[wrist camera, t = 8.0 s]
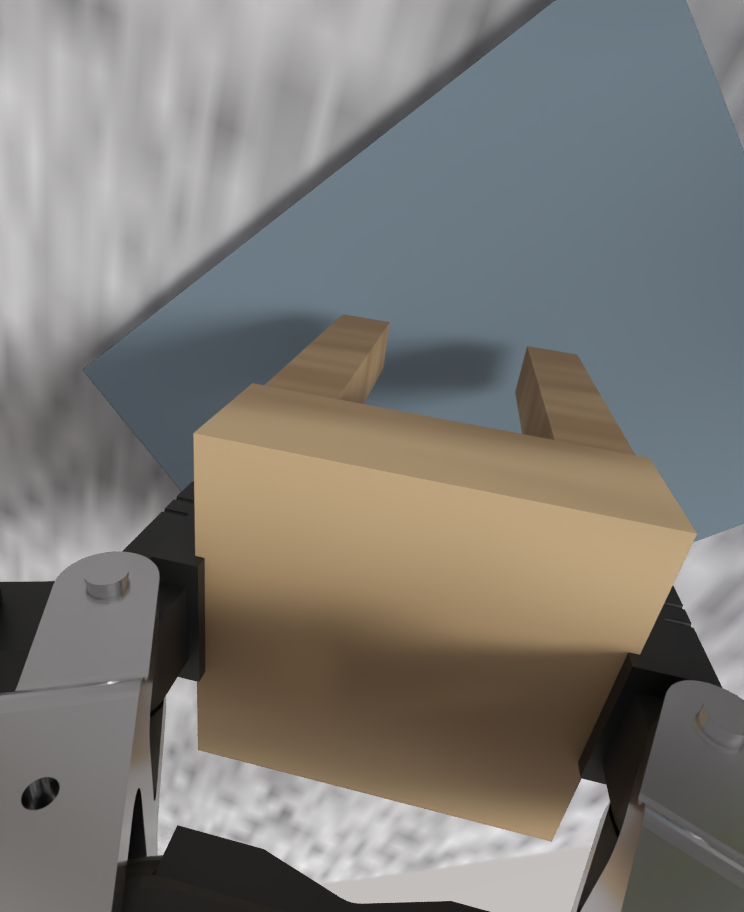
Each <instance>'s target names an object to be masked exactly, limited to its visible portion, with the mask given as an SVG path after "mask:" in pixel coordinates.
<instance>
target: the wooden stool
mask: <svg viewBox="0 0 744 912" xmlns="http://www.w3.org/2000/svg"><path fill="white" fill-rule="evenodd" d="M389 326H390V322H386V321H380V320H374V319H368V318H362V317H357V316H351V315H345V314H343V315H342V316H341V317H340V318H338V319H337V320H336V321H335V322H334V323H333V324H332V325H331V326H330V327H328V328H327V329H326V330H325V331H324V332H323V333H322V334H321V335H320V336H318V337H317V338H316V339H315V340H314V341H313V342H312V343H311V344H310V345H308V346H307V347H306V348H305V349H304V350H303V351H302V352H301V353H300V354H298V355H297V356H296V357H295V358H294V359H293V360H292V361H291V362H290V363H288V364H287V365H286V366H285V367H284V368H283V369H282V370H281V371H280V372H278V373H277V374H276V375H275V376H274V377H273V378H272V379H271V380H270V381H268V382H267V383H266V384H265V385H259V384H254V383H252V384H251V385H250V386H249V387H247V388H246V389H245V390H244V391H243V392H242V393H240V394H239V395H238V396H237V397H236V398H234V399H233V400H232V401H231V402H230V403H229V404H227V405H226V406H225V407H224V408H223V409H221V410H220V411H219V412H218V413H217V414H216V415H214V416H213V417H212V418H211V419H210V420H208V421H207V422H206V423H205V424H204V425H203V426H201V427H200V428H199V429H198V430H197V431H195V432H194V433H193V436H194V504H195V556H199V557H203V558H205V673H204V675H203V677H202V678H201V680H200V682H198V681H197V708H198V750H200V751H204V752H208V753H212V754H216V755H220V756H223V757H227V758H231V759H235V760H239V761H243V762H247V763H250V764H254V765H258V766H262V767H266V768H270V769H274V770H277V771H281V772H285V773H289V774H293V775H297V776H301V777H304V778H308V779H312V780H316V781H320V782H324V783H328V784H331V785H335V786H339V787H343V788H347V789H351V790H355V791H358V792H362V793H366V794H370V795H374V796H378V797H382V798H386V799H389V800H393V801H397V802H401V803H405V804H409V805H413V806H416V807H420V808H424V809H428V810H432V811H436V812H440V813H443V814H447V815H451V816H455V817H459V818H463V819H467V820H470V821H474V822H478V823H482V824H486V825H490V826H494V827H497V828H501V829H505V830H509V831H513V832H517V833H521V834H524V835H528V836H532V837H536V838H540V839H544V840H548V841H551V842H552V840H553V837H554V835H555V833H556V831H557V829H558V827H559V825H560V823H561V821H562V818H563V816H564V814H565V812H566V810H567V808H568V806H569V804H570V801H571V799H572V797H573V795H574V793H575V791H576V789H577V787H578V785H579V782H580V780H581V778H580V773H579V766H578V761H579V759H580V757H581V754H582V752H583V750H584V748H585V746H586V743H587V741H588V739H589V737H590V735H591V733H592V730H593V728H594V726H595V724H596V722H597V719H598V717H599V715H600V713H601V711H602V709H603V706H604V704H605V702H606V700H607V698H608V695H609V693H610V691H611V689H612V687H613V684H614V682H615V680H616V678H617V676H618V674H619V671H620V669H621V667H622V665H623V663H624V660H625V658H626V656H627V654H628V652H630V653H635V654H639V655H640V653H641V651H642V649H643V647H644V645H645V643H646V641H647V639H648V637H649V634H650V632H651V630H652V628H653V626H654V624H655V622H656V620H657V617H658V615H659V613H660V611H661V609H662V607H663V605H664V603H665V601H666V598H667V596H668V594H669V592H670V590H671V588H672V586H673V584H674V582H675V579H676V577H677V575H678V573H679V571H680V569H681V567H682V565H683V562H684V560H685V558H686V556H687V554H688V552H689V550H690V548H691V546H692V543H693V541H694V539H695V537H696V535H697V533H696V531H695V530H694V528H693V527H692V525H691V523H690V522H689V520H688V519H687V517H686V515H685V514H684V512H683V511H682V509H681V507H680V506H679V504H678V503H677V501H676V499H675V498H674V496H673V495H672V493H671V491H670V490H669V488H668V487H667V485H666V483H665V482H664V480H663V479H662V477H661V475H660V474H659V472H658V471H657V469H656V467H655V466H654V464H653V463H652V461H651V460H650V458H647V457H642V456H636V455H635V453H634V451H633V450H632V448H631V446H630V445H629V443H628V441H627V439H626V438H625V436H624V434H623V433H622V431H621V429H620V427H619V426H618V424H617V422H616V420H615V419H614V417H613V415H612V414H611V412H610V410H609V408H608V407H607V405H606V403H605V402H604V400H603V398H602V396H601V395H600V393H599V391H598V389H597V388H596V386H595V384H594V383H593V381H592V379H591V377H590V376H589V374H588V372H587V371H586V369H585V367H584V365H583V364H582V362H581V360H580V359H579V357H578V355H577V354H571V353H565V352H559V351H554V350H548V349H542V348H536V347H531V346H527V348H526V352H525V356H524V360H523V364H522V368H521V371H520V375H519V379H518V383H517V387H516V391H515V395H516V401H517V407H518V413H519V419H520V425H521V431H522V434H519V433H514V432H509V431H504V430H498V429H493V428H488V427H482V426H477V425H472V424H466V423H461V422H456V421H450V420H445V419H440V418H435V417H429V416H424V415H419V414H413V413H408V412H403V411H397V410H392V409H387V408H381V407H376V406H371V405H366V404H364V403H365V401H366V399H367V397H368V395H369V394H370V392H371V390H372V388H373V386H374V384H375V383H376V381H377V379H378V377H379V375H380V374H381V372H382V370H383V367H384V360H385V354H386V347H387V340H388V333H389Z"/></svg>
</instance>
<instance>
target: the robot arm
mask: <svg viewBox="0 0 744 912" xmlns="http://www.w3.org/2000/svg"><path fill="white" fill-rule="evenodd" d="M682 606H683V605H682V603H681V601H680V599H679V597H678V594H677V592H676V590H675V588H674V586H672V588H671V590H670V592H669V594H668V596H667V598H666V601H665V603H664V605H663V607H662V609H661V611H660V613H659V615H658V617H657V620H656V622H655V624H654V626H653V628H652V630H651V632H650V634H649V637H648V639H647V641H646V643H645V645H644V647H643V649H642V651H641V653H640V655H639V654H635V653H630V652H628V654H627V656H626V658H625V660H624V663H623V665H622V667H621V669H620V671H619V674H618V676H617V678H616V680H615V682H614V684H613V687H612V689H611V691H610V693H609V695H608V698H607V700H606V702H605V704H604V706H603V709H602V711H601V713H600V715H599V717H598V719H597V722H596V724H595V726H594V728H593V730H592V733H591V735H590V737H589V739H588V741H587V743H586V746H585V748H584V750H583V752H582V754H581V757H580V759H579V761H578V766H579V773H580V778H583V779H587V780H591V781H595V782H599V783H603V784H607V789H608V794H609V798H610V801H609V803H608V805H607V807H606V809H605V811H604V813H603V815H602V817H601V820H600V823H599V826H598V829H597V832H596V835H595V839H594V842H593V845H592V848H591V851H590V854H589V858H588V861H587V864H586V867H585V870H584V873H583V876H582V879H581V882H580V886H579V889H578V892H577V895H576V898H575V901H574V905H573V907H572V910H571V912H744V700H743V699H741V698H740V697H738V696H737V695H735V694H733V693H731V692H729V691H728V690H725V689H723V688H722V686H721V684H720V682H719V680H718V678H717V676H716V674H715V672H714V670H713V667H712V665H711V663H710V661H709V659H708V657H707V655H706V653H705V651H704V649H703V647H702V644H701V642H700V640H699V638H698V636H697V634H696V632H695V630H694V628H692V627H691V622H690V619H689V617H688V615H687V613H686V611H685V610H684V609H682ZM204 673H205V558H203V557H199V556H195V504H194V481H193V482H191V483H190V484H189V485H188V486H187V487H186V488H185V489H184V490H183V491H182V492H181V493H180V494H179V495H178V496H177V499H176V500H173V501H172V502H171V503H170V504H169V505H168V506H167V507H166V508H165V511H164V512H161V513H160V514H159V515H158V516H157V517H156V518H155V519H154V520H153V521H152V522H151V523H150V524H149V525H148V526H147V527H146V528H145V529H144V530H143V531H142V532H141V533H140V534H139V535H138V536H137V537H136V538H135V539H134V540H133V541H132V542H131V543H130V544H129V545H128V546H127V547H126V548H125V549H124V550H123V551H122V552H106V553H100V554H96V555H92V556H89V557H86V558H84V559H81V560H79V561H77V562H75V563H73V564H72V565H70V566H69V567H67V568H66V569H65V570H64V571H63V572H62V573H60V575H59V576H58V577H57V578H56V580H55V581H48V582H0V912H489V911H485V910H481V909H478V908H474V907H470V906H467V905H463V904H460V903H456V902H452V901H442V902H408V903H407V902H406V903H373V904H357V903H351V902H348V901H346V900H344V899H342V898H340V897H338V896H337V895H335V894H334V893H332V892H331V891H329V890H327V889H326V888H324V887H323V886H321V885H319V884H318V883H316V882H315V881H313V880H312V879H310V878H308V877H307V876H305V875H304V874H302V873H300V872H299V871H297V870H296V869H294V868H293V867H291V866H289V865H288V864H286V863H285V862H283V861H281V860H280V859H278V858H277V857H275V856H274V855H272V854H270V853H269V852H267V851H266V850H264V849H261V848H257V847H254V846H250V845H247V844H243V843H239V842H236V841H232V840H228V839H225V838H221V837H218V836H214V835H210V834H207V833H203V832H200V831H196V830H192V829H189V828H185V827H181V826H178V825H177V828H176V830H175V832H174V834H173V836H172V838H171V840H170V842H169V844H168V846H167V848H166V850H165V853H164V855H161V856H157V833H158V810H159V797H160V783H161V770H162V757H163V743H164V730H165V717H166V694H167V693H168V691H169V690H170V688H171V686H172V685H173V683H174V682H175V680H176V678H177V677H181V678H185V679H190V680H194V681H198V682H200V680H201V678H202V677H203V675H204Z"/></svg>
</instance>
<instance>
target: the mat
mask: <svg viewBox="0 0 744 912" xmlns="http://www.w3.org/2000/svg"><path fill="white" fill-rule="evenodd" d="M343 314H345V315H351V316H357V317H362V318H368V319H374V320H380V321H386V322H390V326H389V333H388V340H387V347H386V354H385V360H384V367H383V370H382V372H381V374H380V375H379V377H378V379H377V381H376V383H375V384H374V386H373V388H372V390H371V392H370V394H369V395H368V397H367V399H366V401H365V403H364V404H366V405H371V406H376V407H381V408H387V409H392V410H397V411H403V412H408V413H413V414H419V415H424V416H429V417H435V418H440V419H445V420H450V421H456V422H461V423H466V424H472V425H477V426H482V427H488V428H493V429H498V430H504V431H509V432H514V433H519V434H522V431H521V425H520V419H519V413H518V407H517V401H516V395H515V391H516V387H517V383H518V379H519V375H520V371H521V368H522V364H523V360H524V356H525V352H526V348H527V346H531V347H536V348H542V349H548V350H554V351H559V352H565V353H571V354H577V355H578V357H579V359H580V360H581V362H582V364H583V365H584V367H585V369H586V371H587V372H588V374H589V376H590V377H591V379H592V381H593V383H594V384H595V386H596V388H597V389H598V391H599V393H600V395H601V396H602V398H603V400H604V402H605V403H606V405H607V407H608V408H609V410H610V412H611V414H612V415H613V417H614V419H615V420H616V422H617V424H618V426H619V427H620V429H621V431H622V433H623V434H624V436H625V438H626V439H627V441H628V443H629V445H630V446H631V448H632V450H633V451H634V453H635V455H636V456H642V457H647V458H650V460H651V461H652V463H653V464H654V466H655V467H656V469H657V471H658V472H659V474H660V475H661V477H662V479H663V480H664V482H665V483H666V485H667V487H668V488H669V490H670V491H671V493H672V495H673V496H674V498H675V499H676V501H677V503H678V504H679V506H680V507H681V509H682V511H683V512H684V514H685V515H686V517H687V519H688V520H689V522H690V523H691V525H692V527H693V528H694V530H695V531H696V533H697V535H696V537H695V539H694V541H693V542H695V541H698V540H700V539H703V538H706V537H709V536H711V535H714V534H717V533H720V532H722V531H725V530H728V529H731V528H733V527H736V526H739V525H742V524H744V151H743V148H742V145H741V143H740V140H739V138H738V135H737V132H736V130H735V127H734V125H733V122H732V119H731V117H730V114H729V112H728V109H727V106H726V104H725V101H724V99H723V96H722V93H721V91H720V88H719V86H718V83H717V80H716V78H715V75H714V73H713V70H712V67H711V65H710V62H709V60H708V57H707V54H706V52H705V49H704V47H703V44H702V41H701V39H700V36H699V34H698V31H697V28H696V26H695V23H694V21H693V18H692V15H691V13H690V10H689V8H688V5H687V2H686V0H555V1H554V2H552V3H551V4H550V5H549V6H547V7H546V8H545V9H543V10H542V11H541V12H540V13H538V14H537V15H536V16H535V17H533V18H532V19H531V20H529V21H528V22H527V23H526V24H524V25H523V26H522V27H520V28H519V29H518V30H517V31H515V32H514V33H513V34H512V35H510V36H509V37H508V38H506V39H505V40H504V41H503V42H501V43H500V44H499V45H497V46H496V47H495V48H494V49H492V50H491V51H490V52H488V53H487V54H486V55H485V56H483V57H482V58H481V59H480V60H478V61H477V62H476V63H474V64H473V65H472V66H471V67H469V68H468V69H467V70H465V71H464V72H463V73H462V74H460V75H459V76H458V77H456V78H455V79H454V80H453V81H451V82H450V83H449V84H448V85H446V86H445V87H444V88H442V89H441V90H440V91H439V92H437V93H436V94H435V95H433V96H432V97H431V98H430V99H428V100H427V101H426V102H424V103H423V104H422V105H421V106H419V107H418V108H417V109H416V110H414V111H413V112H412V113H410V114H409V115H408V116H407V117H405V118H404V119H403V120H401V121H400V122H399V123H398V124H396V125H395V126H394V127H392V128H391V129H390V130H389V131H387V132H386V133H385V134H384V135H382V136H381V137H380V138H378V139H377V140H376V141H375V142H373V143H372V144H371V145H369V146H368V147H367V148H366V149H364V150H363V151H362V152H360V153H359V154H358V155H357V156H355V157H354V158H353V159H352V160H350V161H349V162H348V163H346V164H345V165H344V166H343V167H341V168H340V169H339V170H337V171H336V172H335V173H334V174H332V175H331V176H330V177H329V178H327V179H326V180H325V181H323V182H322V183H321V184H320V185H318V186H317V187H316V188H314V189H313V190H312V191H311V192H309V193H308V194H307V195H305V196H304V197H303V198H302V199H300V200H299V201H298V202H297V203H295V204H294V205H293V206H291V207H290V208H289V209H288V210H286V211H285V212H284V213H282V214H281V215H280V216H279V217H277V218H276V219H275V220H273V221H272V222H271V223H270V224H268V225H267V226H266V227H265V228H263V229H262V230H261V231H259V232H258V233H257V234H256V235H254V236H253V237H252V238H250V239H249V240H248V241H247V242H245V243H244V244H243V245H241V246H240V247H239V248H238V249H236V250H235V251H234V252H233V253H231V254H230V255H229V256H227V257H226V258H225V259H224V260H222V261H221V262H220V263H218V264H217V265H216V266H215V267H213V268H212V269H211V270H209V271H208V272H207V273H206V274H204V275H203V276H202V277H201V278H199V279H198V280H197V281H195V282H194V283H193V284H192V285H190V286H189V287H188V288H186V289H185V290H184V291H183V292H181V293H180V294H179V295H177V296H176V297H175V298H174V299H172V300H171V301H170V302H169V303H167V304H166V305H165V306H163V307H162V308H161V309H160V310H158V311H157V312H156V313H154V314H153V315H152V316H151V317H149V318H148V319H147V320H145V321H144V322H143V323H142V324H140V325H139V326H138V327H137V328H135V329H134V330H133V331H131V332H130V333H129V334H128V335H126V336H125V337H124V338H122V339H121V340H120V341H119V342H117V343H116V344H115V345H114V346H112V347H111V348H110V349H108V350H107V351H106V352H105V353H103V354H102V355H101V356H99V357H98V358H97V359H96V360H94V361H93V362H92V363H90V364H89V365H88V366H87V367H85V368H84V369H83V371H84V372H85V374H86V375H87V376H88V377H89V379H90V380H91V381H92V382H93V383H94V385H95V386H96V387H97V388H98V390H99V391H100V392H101V393H102V394H103V396H104V397H105V398H106V399H107V401H108V402H109V403H110V404H111V406H112V407H113V408H114V409H115V410H116V412H117V413H118V414H119V415H120V417H121V418H122V419H123V420H124V421H125V423H126V424H127V425H128V426H129V428H130V429H131V430H132V431H133V432H134V434H135V435H136V436H137V437H138V439H139V440H140V441H141V442H142V443H143V445H144V446H145V447H146V448H147V450H148V451H149V452H150V453H151V454H152V456H153V457H154V458H155V459H156V461H157V462H158V463H159V464H160V465H161V467H162V468H163V469H164V470H165V472H166V473H167V474H168V475H169V477H170V478H171V479H172V480H173V481H174V483H175V484H176V485H177V486H178V488H179V489H180V490H181V491H183V490H184V489H185V488H186V487H187V486H188V485H189V484H190V483H191V482H193V481H194V436H193V433H194V432H195V431H197V430H198V429H199V428H200V427H201V426H203V425H204V424H205V423H206V422H207V421H208V420H210V419H211V418H212V417H213V416H214V415H216V414H217V413H218V412H219V411H220V410H221V409H223V408H224V407H225V406H226V405H227V404H229V403H230V402H231V401H232V400H233V399H234V398H236V397H237V396H238V395H239V394H240V393H242V392H243V391H244V390H245V389H246V388H247V387H249V386H250V385H251V384H252V383H254V384H259V385H265V384H266V383H267V382H268V381H270V380H271V379H272V378H273V377H274V376H275V375H276V374H277V373H278V372H280V371H281V370H282V369H283V368H284V367H285V366H286V365H287V364H288V363H290V362H291V361H292V360H293V359H294V358H295V357H296V356H297V355H298V354H300V353H301V352H302V351H303V350H304V349H305V348H306V347H307V346H308V345H310V344H311V343H312V342H313V341H314V340H315V339H316V338H317V337H318V336H320V335H321V334H322V333H323V332H324V331H325V330H326V329H327V328H328V327H330V326H331V325H332V324H333V323H334V322H335V321H336V320H337V319H338V318H340V317H341V316H342V315H343Z"/></svg>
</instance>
